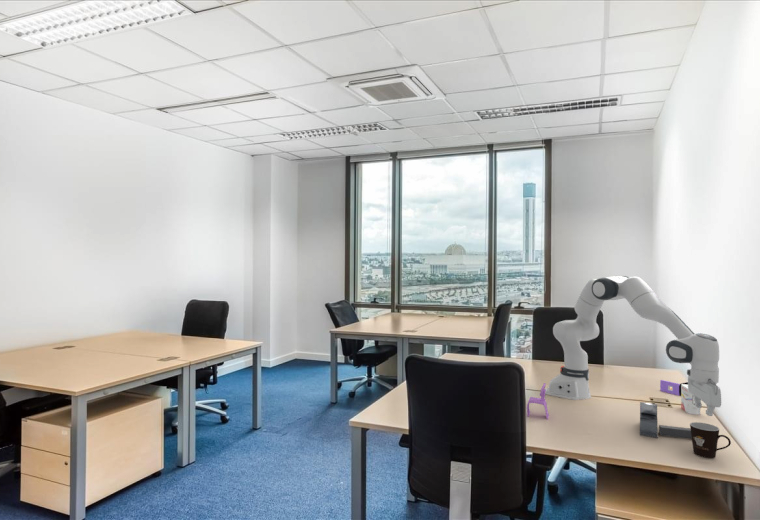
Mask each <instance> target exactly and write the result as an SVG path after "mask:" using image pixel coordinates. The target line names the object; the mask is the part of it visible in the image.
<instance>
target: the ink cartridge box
mask: <svg viewBox="0 0 760 520" xmlns="http://www.w3.org/2000/svg"><path fill="white" fill-rule="evenodd" d="M680 384H681V383H680ZM680 397H681V398H680V402H681V403H680V404H681V405H680V406H681V409H682V410H683V411H685V413H687V414H688V415H697V416H698V415H701V408H697V407H696V406H695V400H694V395H693V394H692V393H690V392H689V389H688V385H687V384H681V396H680Z"/></svg>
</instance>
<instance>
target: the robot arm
mask: <svg viewBox="0 0 760 520" xmlns="http://www.w3.org/2000/svg"><path fill="white" fill-rule="evenodd" d="M622 299H625V300H626V301H627V302H628V304H629V305H630V307H631V308H632V310H634V312H635V313H636V314H638V316H640V317H641V318H643V319H646V320H650V321H654V322H656V323H659V324H661V325H663V326H665V327H666V328H667V329H668V330H669V331H670V332H671V333H672V334H673V335H674V337H675V338H676V339H673V340H670V341H669V342H668V343H667V344H666V347H665V354H666V355H667V357H668V359H669V360H670V361H672V362H674V363H677V364H689V365H690V368H689V369H686V374H687V375H688V376H687V382H688V389H689V392H690V393H692V394H693V395H694V400H695V406H696V407H697V408H700V409H701V408H702V407H703V406H702V405H703V403H704V404H706V407H707V408H706V410H705V415H706V416H708V417H713V415H714V411H715V408H721V406H722V391H721V388H720V386H718V383H719V380H720V379H719V378H720V375H719V374H720V369H719V361H720V346H719V342H718V339H717V338H716V337H715V336H714V335H713V336H712V335H710V334H706V333H701V332H700V333H694V331H693V330H692V329H691V328H690V327H689V326H688V325H687V324H686V323H685V322H684V321H683V320H682V319H681V317H679V316H678V315H677V314H676V313H675V312H674V310H672V309H671V308H670V307H669V306H667V304H665V303H664V302H663V300H662V299H661V298H660V297H659V296H658V295H657V293H656V292H655V291H654V289H652V288H651V286H649V284H648V283H646V281H644V280H643V279H642V278H641V277H639V276H627V275H621V276H620V275H618V276H617V275H614V276H613V275H612V276H608V277H607V276H606V277H600V278H590V280H589V281H588V282H587V283H586V284H585V286H584V287H583V289H582V290H581V292H580V294H579V296H578V298H577V301H576V302H575V305H574V311H575V314H577V316H576V318H575V319H565V320H562V321H558V322H556V323H555V324H554V325H553V327H552V334H553V336H554V338H555V339H556V340H557V341H558V342H559V343H560V345H561V347H562V349H563V355H564V357H563V360H564V365H561V366H560V367H559V368H560V373H559V374H558V375H556V376H555V377H553V378H551V379H550V381H549V384H548V387H546V388H545V389H546V392H545V395H547V396H548V395H549V396H553V397H556V398H557V397H558V398H562V399H568V400H571V401H578V400H588V399H591V398H592V394H591V391H590V386H589V379H590V371H589V363H588V362H589V361H588V360H589V356H588V353H587V352H586V351H585V350H584V349H583V348H582V346H581V342H588V341H591V340H594V339H596V338H598V336H599V335H600V327H599V324H598V323H597V318H598V317H597V316H598V315H599V312H600V311H601V308H602V306H603V304H604V302H605V301H618V300H622ZM701 401H702V402H703V403H702V402H701Z"/></svg>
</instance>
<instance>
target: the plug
mask: <svg viewBox="0 0 760 520" xmlns="http://www.w3.org/2000/svg"><path fill="white" fill-rule="evenodd" d="M658 433H659V436H662V437H663V436H664V437H672V438H679V439H689V440H692V436H691V428H689V427H681V426H674V425H663V424H662V425H661V424H659V425H658Z"/></svg>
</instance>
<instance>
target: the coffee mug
mask: <svg viewBox="0 0 760 520" xmlns="http://www.w3.org/2000/svg"><path fill="white" fill-rule="evenodd" d="M689 427H690V428H691V436H692V439H691V444H692V451H693V454H694V455H696V456H698V457H700V458H701V457H702V458H706V459H715V458H716V456H717V451H720V450H724V449H726V448H729V447H731V446H730V445H732V444H731V443H732V442H731V438H730V437H728V436H726V435H724V434H719V433H720V428H719V427H718V426H717V425H713V424H710V423H706V422H697V421H696V422H695V421H693V422H690V423H689ZM722 437H723V438H725V439H726V440H727V441H728V444H727V445H725V446H723V447H718V440H719V439H720V438H722ZM717 447H718V448H717Z"/></svg>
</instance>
